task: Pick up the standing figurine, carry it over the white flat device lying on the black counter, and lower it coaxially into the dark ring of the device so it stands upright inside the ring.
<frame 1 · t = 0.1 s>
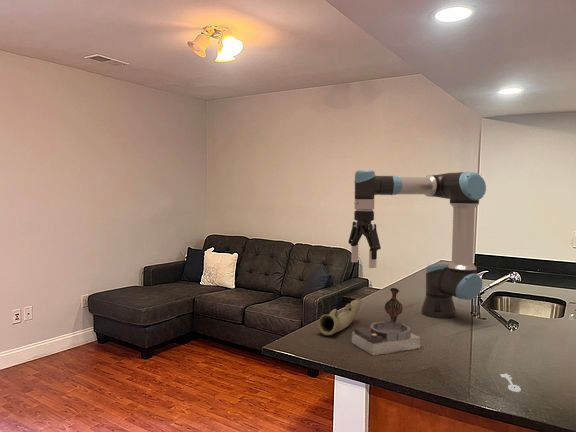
hand: (363, 265, 171), 28 cm above the counter, fingers open, 13 cm apart
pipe: (340, 328, 182), on the counter
figurine: (393, 332, 177), on the counter
white flat device: (385, 345, 161), on the counter
key: (510, 384, 130), on the counter
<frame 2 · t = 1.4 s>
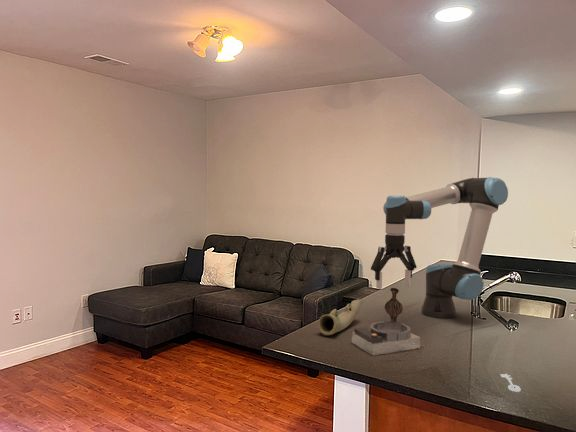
hand: (393, 287, 176), 18 cm above the counter, fingers open, 13 cm apart
nothing on the counter moved.
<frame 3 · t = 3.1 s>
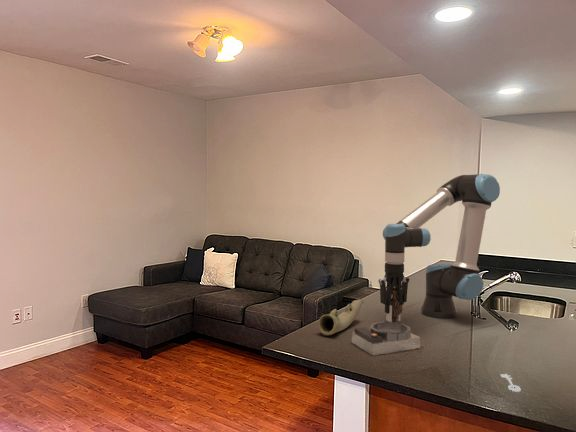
hand: (393, 320, 177), 5 cm above the counter, fingers closed on figurine, 3 cm apart
figurine: (393, 332, 177), on the counter, touching gripper
everything else where it was.
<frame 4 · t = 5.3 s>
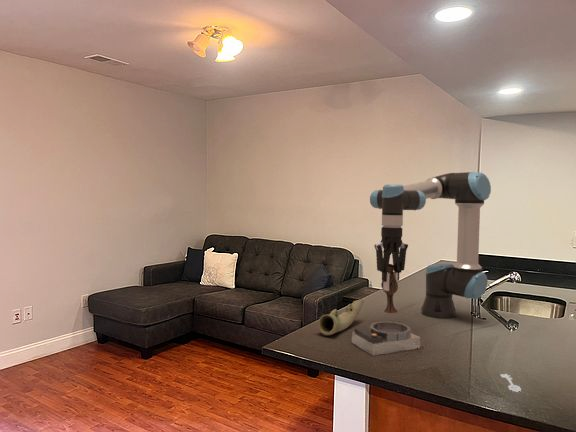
hand: (390, 289, 162), 20 cm above the counter
figurine: (389, 311, 163), point 12 cm above the counter, touching gripper
everything else where it was.
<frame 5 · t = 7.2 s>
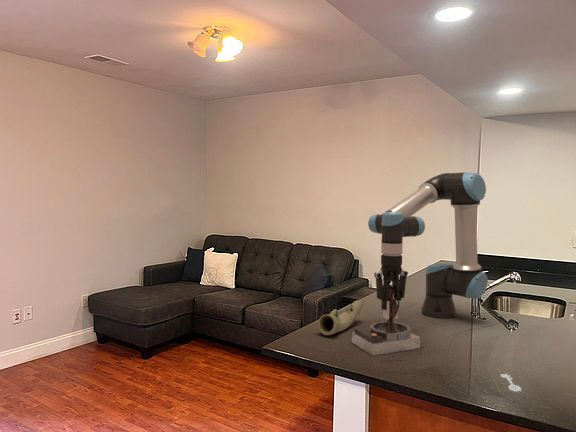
hand: (390, 317, 161), 10 cm above the counter, fingers open, 3 cm apart
figurine: (390, 333, 162), point 4 cm above the counter, touching white flat device
everything else where it was.
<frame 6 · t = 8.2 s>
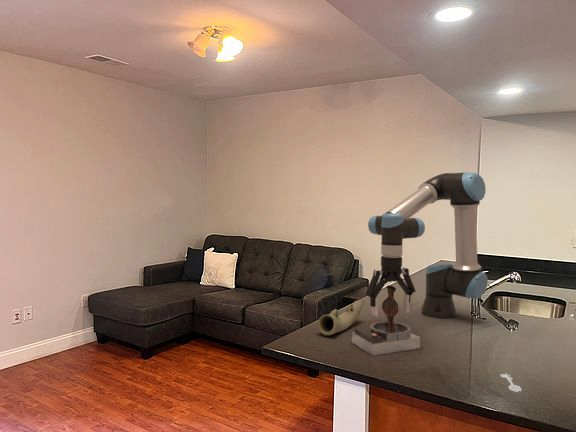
hand: (390, 313, 161), 12 cm above the counter, fingers open, 13 cm apart
nothing on the counter moved.
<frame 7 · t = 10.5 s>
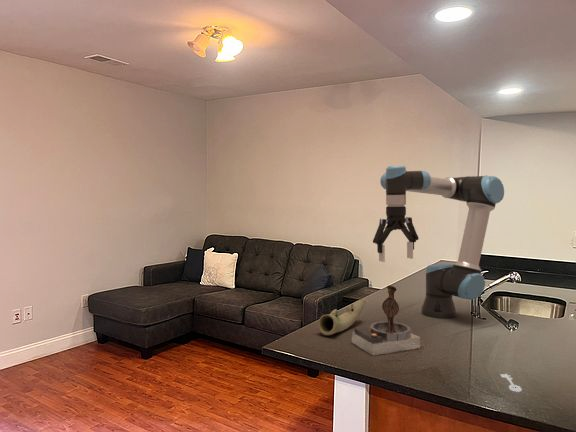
hand: (396, 259, 172), 30 cm above the counter, fingers open, 13 cm apart
nothing on the counter moved.
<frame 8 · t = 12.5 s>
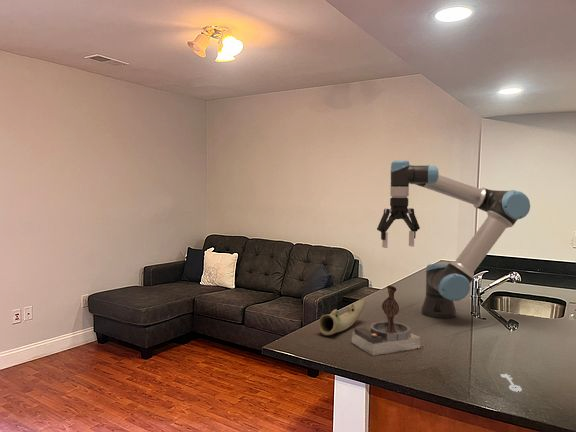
hand: (398, 247, 188), 33 cm above the counter, fingers open, 13 cm apart
at the end: figurine inside the target area on the white flat device (0.6 cm from its centre), point 3.8 cm above the white flat device's base; figurine tilted 0°; the gripper is holding nothing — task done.
